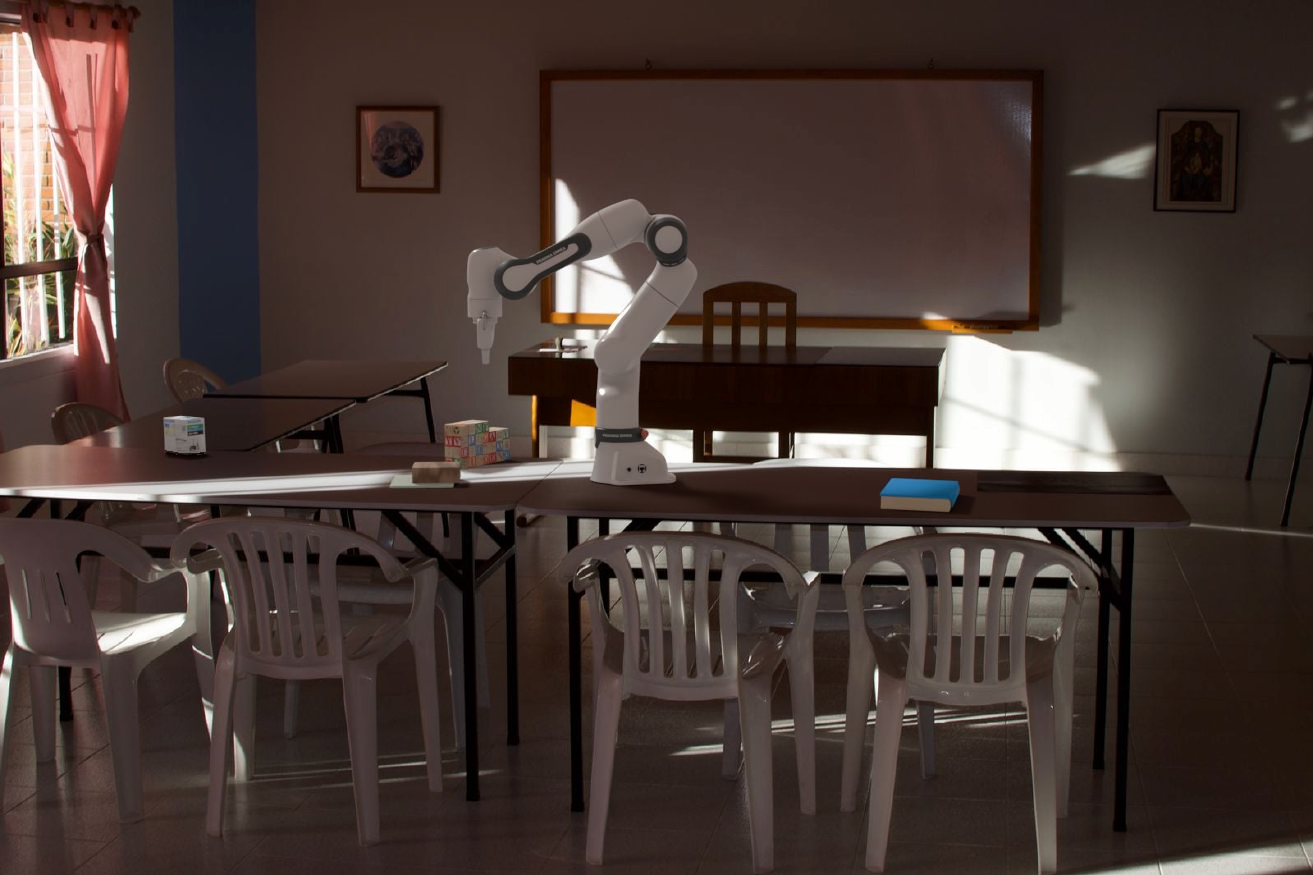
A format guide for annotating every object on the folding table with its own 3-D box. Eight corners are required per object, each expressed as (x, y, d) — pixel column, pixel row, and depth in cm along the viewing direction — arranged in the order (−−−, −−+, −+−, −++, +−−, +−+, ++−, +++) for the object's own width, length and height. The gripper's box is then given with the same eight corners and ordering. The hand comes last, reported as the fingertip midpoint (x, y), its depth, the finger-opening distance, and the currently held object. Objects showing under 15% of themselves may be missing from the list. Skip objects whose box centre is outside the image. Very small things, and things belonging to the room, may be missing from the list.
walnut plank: (460, 461, 386) (414, 462, 385) (459, 467, 376) (411, 467, 375) (460, 476, 386) (414, 477, 385) (459, 482, 377) (412, 483, 375)
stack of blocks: (493, 458, 425) (493, 416, 424) (510, 460, 422) (510, 417, 420) (444, 467, 408) (443, 423, 406) (461, 469, 404) (460, 425, 403)
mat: (456, 476, 390) (456, 474, 390) (453, 487, 373) (453, 485, 373) (395, 477, 389) (395, 475, 389) (389, 488, 371) (389, 486, 371)
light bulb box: (206, 453, 432) (205, 417, 431) (188, 456, 427) (187, 419, 425) (182, 450, 438) (180, 415, 437) (163, 453, 432) (162, 417, 431)
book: (879, 494, 345) (890, 476, 368) (879, 512, 345) (890, 493, 369) (953, 497, 340) (960, 479, 364) (953, 515, 341) (959, 496, 365)
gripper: (496, 311, 367) (497, 366, 368) (497, 308, 387) (498, 360, 389) (471, 312, 366) (472, 367, 368) (473, 308, 386) (474, 360, 388)
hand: (485, 363), depth 378 cm, fingers closed
